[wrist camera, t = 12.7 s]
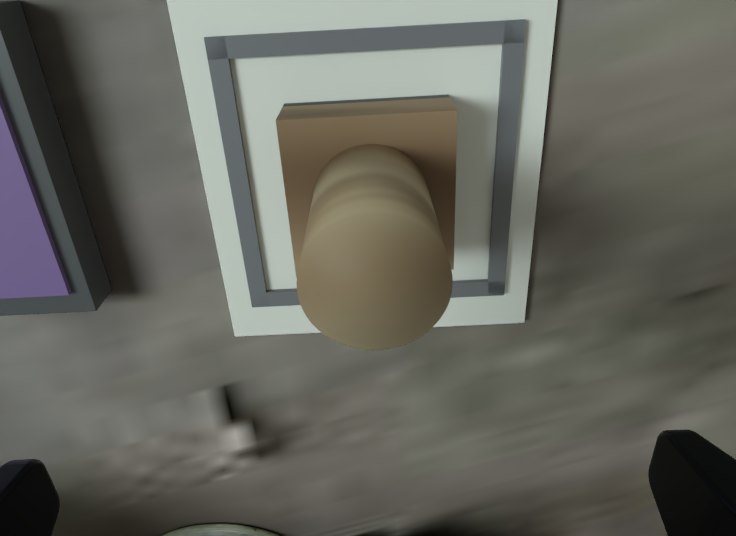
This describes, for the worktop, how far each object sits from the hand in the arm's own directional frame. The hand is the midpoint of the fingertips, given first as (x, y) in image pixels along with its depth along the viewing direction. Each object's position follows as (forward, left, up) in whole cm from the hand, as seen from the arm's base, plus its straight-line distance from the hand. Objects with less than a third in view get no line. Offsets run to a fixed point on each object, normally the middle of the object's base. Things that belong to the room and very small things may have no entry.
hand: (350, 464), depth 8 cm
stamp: (0, -1, -12) cm, 12 cm away
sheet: (0, -1, -12) cm, 12 cm away
